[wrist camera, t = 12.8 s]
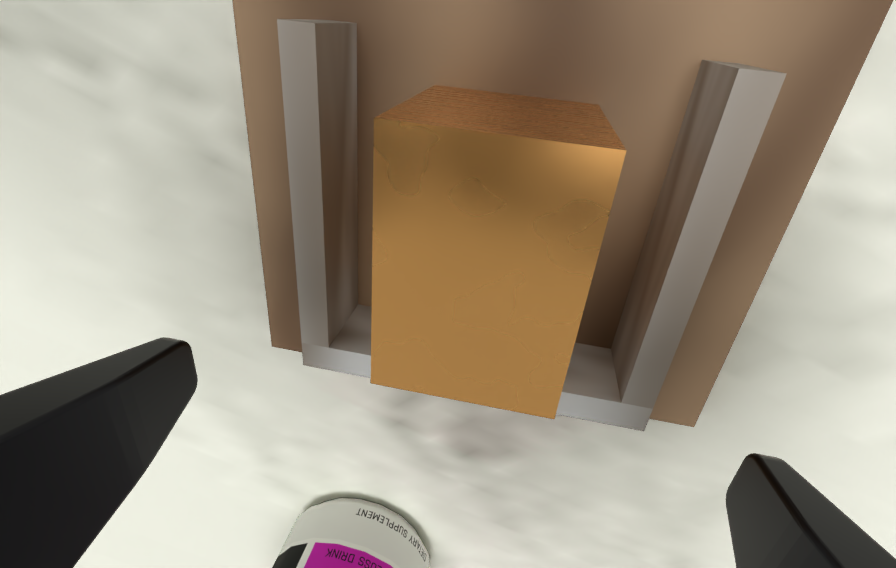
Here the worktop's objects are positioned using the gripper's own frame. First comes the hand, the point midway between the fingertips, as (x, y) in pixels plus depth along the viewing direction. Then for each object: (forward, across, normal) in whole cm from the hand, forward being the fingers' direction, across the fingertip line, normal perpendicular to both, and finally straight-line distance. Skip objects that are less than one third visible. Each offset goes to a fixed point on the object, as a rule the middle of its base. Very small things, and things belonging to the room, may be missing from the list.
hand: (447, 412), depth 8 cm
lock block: (+10, 0, 0) cm, 10 cm away
